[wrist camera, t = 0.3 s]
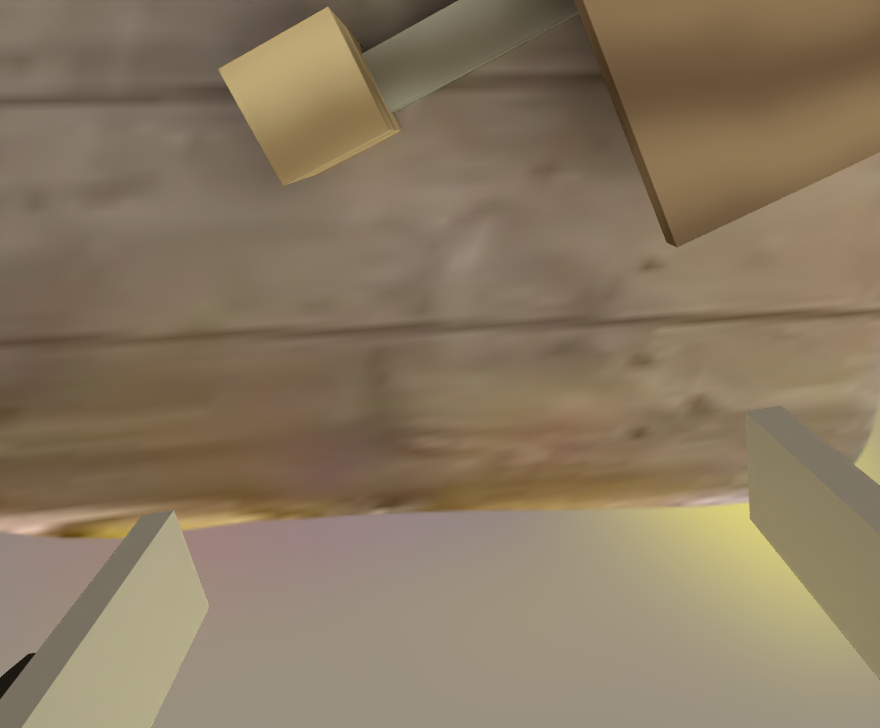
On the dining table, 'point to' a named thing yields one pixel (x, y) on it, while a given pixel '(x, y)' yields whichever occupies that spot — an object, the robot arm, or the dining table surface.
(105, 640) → the robot arm
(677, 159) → the shelf
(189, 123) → the dining table surface
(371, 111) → the tool
